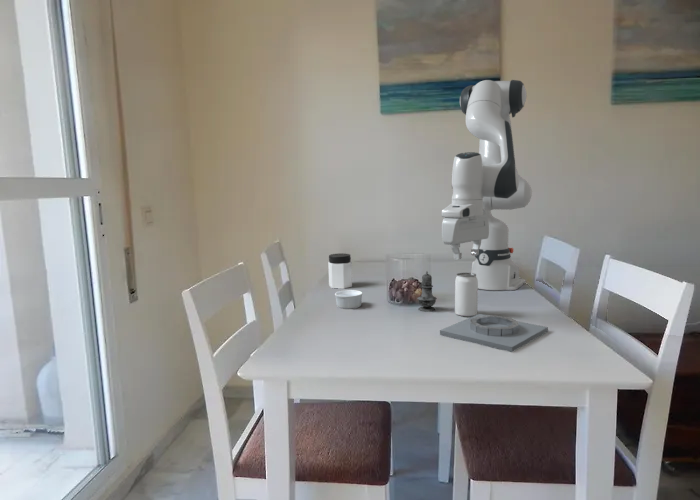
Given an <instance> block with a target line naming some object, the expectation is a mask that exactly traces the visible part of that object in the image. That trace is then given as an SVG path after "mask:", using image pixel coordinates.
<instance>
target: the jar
mask: <svg viewBox="0 0 700 500" xmlns="http://www.w3.org/2000/svg"><path fill="white" fill-rule="evenodd" d="M351 258H352V257H351V254H350V253H332V254H329V255H328V262H327V263H328V264H327V265H328V266H327V267H328V286H329V287H330V288H331V289H334V288H338V289H342V290H343V289H345V290H346V289H348V288H351V287H353V270H352V269H353V267H352V266H353V265H352V262H351V260H352V259H351ZM338 289H337V290H338Z"/></svg>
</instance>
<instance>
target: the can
mask: <svg viewBox="0 0 700 500" xmlns="http://www.w3.org/2000/svg"><path fill="white" fill-rule="evenodd" d="M454 281H455V282H454V283H455V285H454V313H455V314H456V316H460V317H465V318H471V317H473V316H475V315H478V303H479V302H478V301H479V300H478V298H479V296H478V294H479V293H478V290H479V289H478V279H477V277H476V274H474V273H472V272H459V273H456V277H455V280H454Z"/></svg>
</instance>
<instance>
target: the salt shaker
mask: <svg viewBox="0 0 700 500" xmlns="http://www.w3.org/2000/svg"><path fill="white" fill-rule="evenodd" d="M432 280H433V277H432V275H431V274H429V272H428V271H426V272H425V274H423V275H422V277H421V285H420V287H421V295H420V296H417V300H418V301H417V302H418V304H419V305H420V307H418V311H420V312H425V313H427V312H429V313H430V312H435V311H436V307H434V305H435V304H436V300H437V297H436V296H434V295H433V287H434V285H433V284H432Z"/></svg>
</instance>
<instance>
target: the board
mask: <svg viewBox="0 0 700 500" xmlns="http://www.w3.org/2000/svg"><path fill="white" fill-rule="evenodd" d="M486 315H487V316H488V315H489V314H484V313H483V314H482V313H477V314H476V315H475V316H472V317H467V318H466V319H464V320H461V321H459V322H457V323H456V322H455V324H452V325H450V326H447V327H444V328H441V329H440V330H439V336H443V337H447V338H451V339H457V340H461V341H465V342H469V343H473V344H477V345H481V346H485V347H490V348H493V349H496V350H497V349H498V350H502V351H506V352H509V353H514V351H515V352H516V350H518V349H520V348H521V347H523V346H525V345H527V344H528V343H530V342H532V341H534V340H535V339H537V338H540V336H543V335H545V334H546V333H548V332H549V327H548V326H546V325H545V326H543V325H540V324H539V325H538V324H534V323H528V322H523V321H518V320H517V321H518V324H519V332H517V333H515V334H513V335H508V336H488V335H483V334H479V333H476V332H474V331H472V330H470V320H471V319H472V318H475V317H477V316H486ZM481 325H483V326H488V327H507V326H506V325H501V324H491V323H488V324H481ZM542 334H543V335H542Z"/></svg>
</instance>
